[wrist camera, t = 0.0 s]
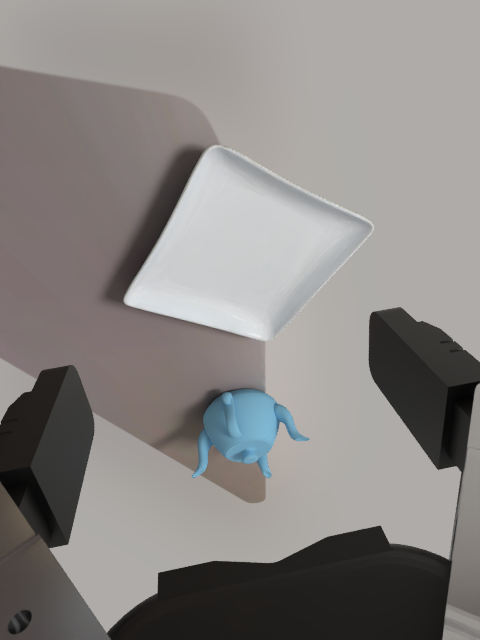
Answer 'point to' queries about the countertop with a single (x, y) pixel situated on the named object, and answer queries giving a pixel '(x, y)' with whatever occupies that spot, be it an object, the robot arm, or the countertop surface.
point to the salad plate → (244, 249)
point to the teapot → (243, 428)
